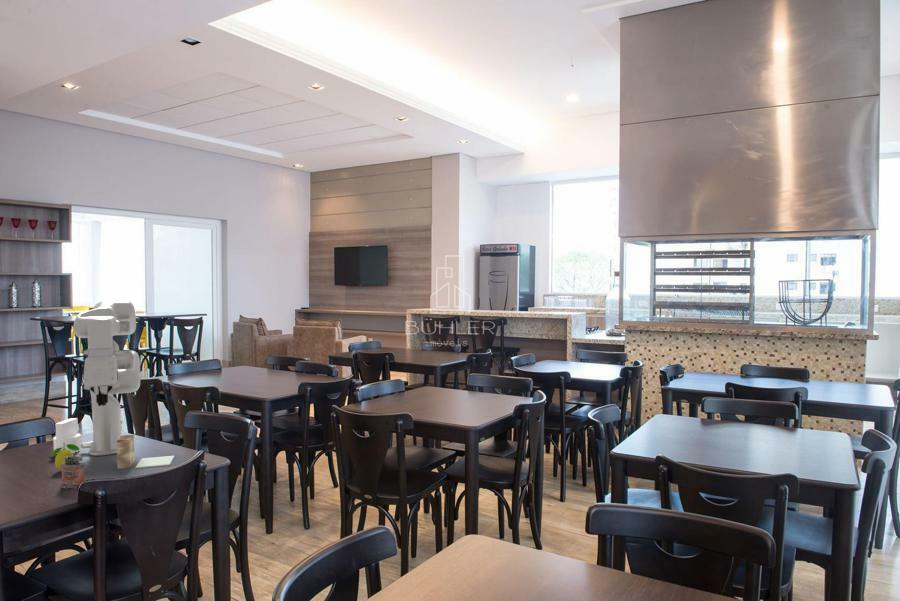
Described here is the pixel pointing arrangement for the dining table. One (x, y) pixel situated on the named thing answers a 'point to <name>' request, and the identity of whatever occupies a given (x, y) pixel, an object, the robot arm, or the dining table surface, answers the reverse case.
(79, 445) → the cylinder with rectangular tab
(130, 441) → the maple block
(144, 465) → the pale green square plate
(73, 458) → the small potted plant
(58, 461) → the lemon
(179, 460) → the dining table surface
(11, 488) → the dining table surface
